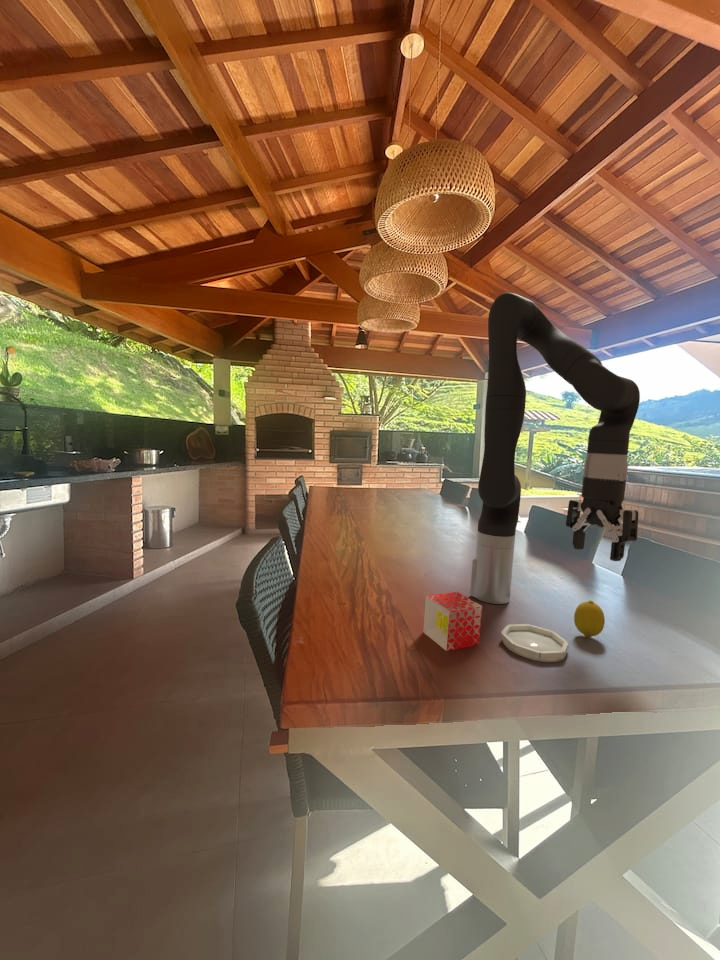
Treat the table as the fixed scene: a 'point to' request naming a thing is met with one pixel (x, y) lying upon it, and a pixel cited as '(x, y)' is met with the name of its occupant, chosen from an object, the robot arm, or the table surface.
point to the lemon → (589, 619)
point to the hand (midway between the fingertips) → (596, 554)
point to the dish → (534, 642)
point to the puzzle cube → (452, 620)
